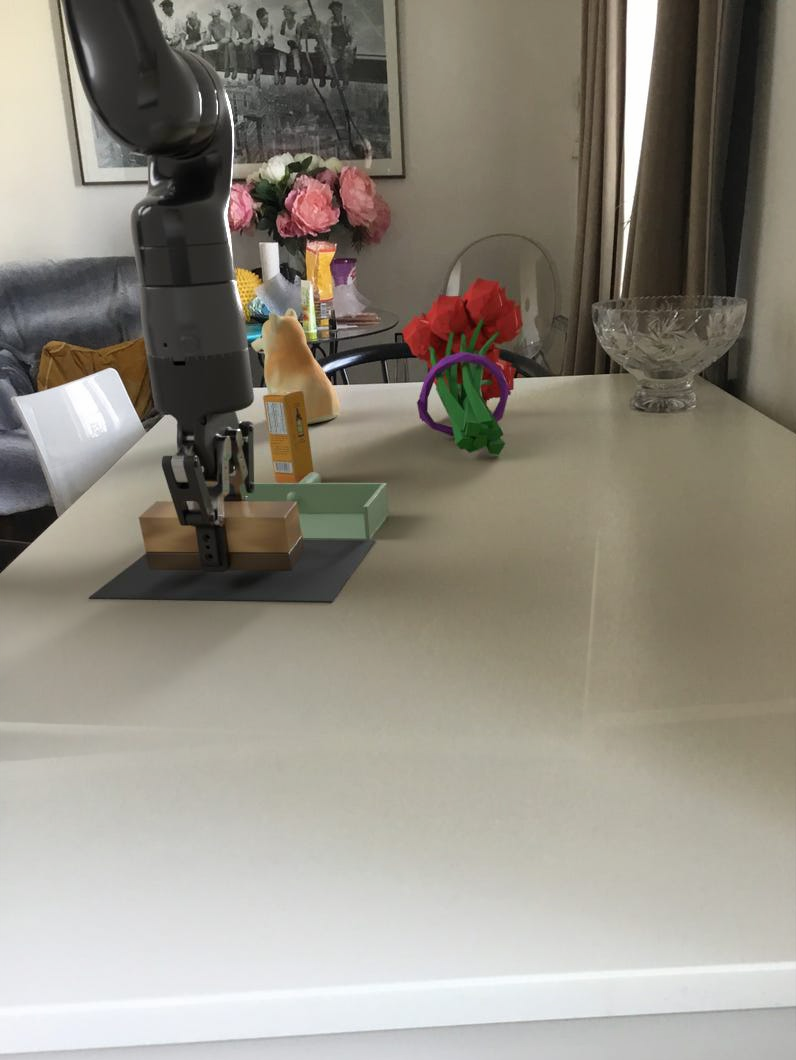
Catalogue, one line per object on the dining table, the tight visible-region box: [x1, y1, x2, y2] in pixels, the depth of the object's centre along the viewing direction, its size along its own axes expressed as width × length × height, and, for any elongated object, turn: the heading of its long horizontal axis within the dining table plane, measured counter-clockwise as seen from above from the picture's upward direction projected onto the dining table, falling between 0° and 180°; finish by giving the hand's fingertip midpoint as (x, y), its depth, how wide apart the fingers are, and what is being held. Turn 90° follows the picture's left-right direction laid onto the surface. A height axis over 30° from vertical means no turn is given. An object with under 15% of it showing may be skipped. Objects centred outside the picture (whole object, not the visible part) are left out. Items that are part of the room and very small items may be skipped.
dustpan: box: [206, 471, 389, 540], centre depth 104 cm, size 16×19×3 cm
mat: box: [88, 539, 376, 604], centre depth 90 cm, size 20×16×1 cm
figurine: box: [250, 308, 340, 425], centre depth 148 cm, size 12×13×15 cm
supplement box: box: [262, 390, 314, 483], centre depth 115 cm, size 3×3×10 cm
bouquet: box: [401, 277, 524, 456], centre depth 135 cm, size 20×16×30 cm
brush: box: [138, 500, 304, 571], centre depth 85 cm, size 12×4×4 cm, turn 83°
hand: (226, 559), depth 86 cm, fingers closed on brush, 4 cm apart
